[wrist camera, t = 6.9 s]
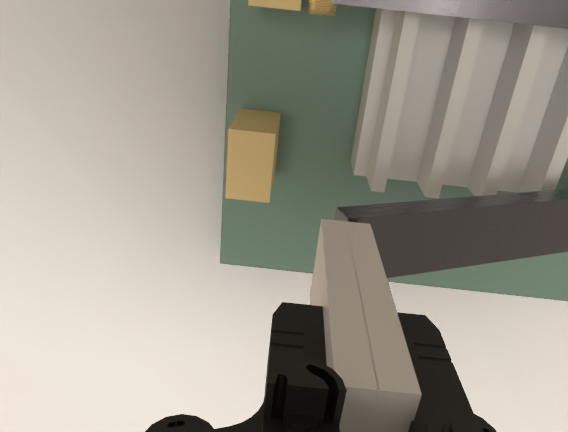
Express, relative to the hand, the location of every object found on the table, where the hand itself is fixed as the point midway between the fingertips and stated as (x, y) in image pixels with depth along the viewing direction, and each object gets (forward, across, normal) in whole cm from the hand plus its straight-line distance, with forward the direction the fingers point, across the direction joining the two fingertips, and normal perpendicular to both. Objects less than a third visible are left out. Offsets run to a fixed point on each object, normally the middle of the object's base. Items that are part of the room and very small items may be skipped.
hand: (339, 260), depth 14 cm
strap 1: (+4, +6, 0) cm, 7 cm away
